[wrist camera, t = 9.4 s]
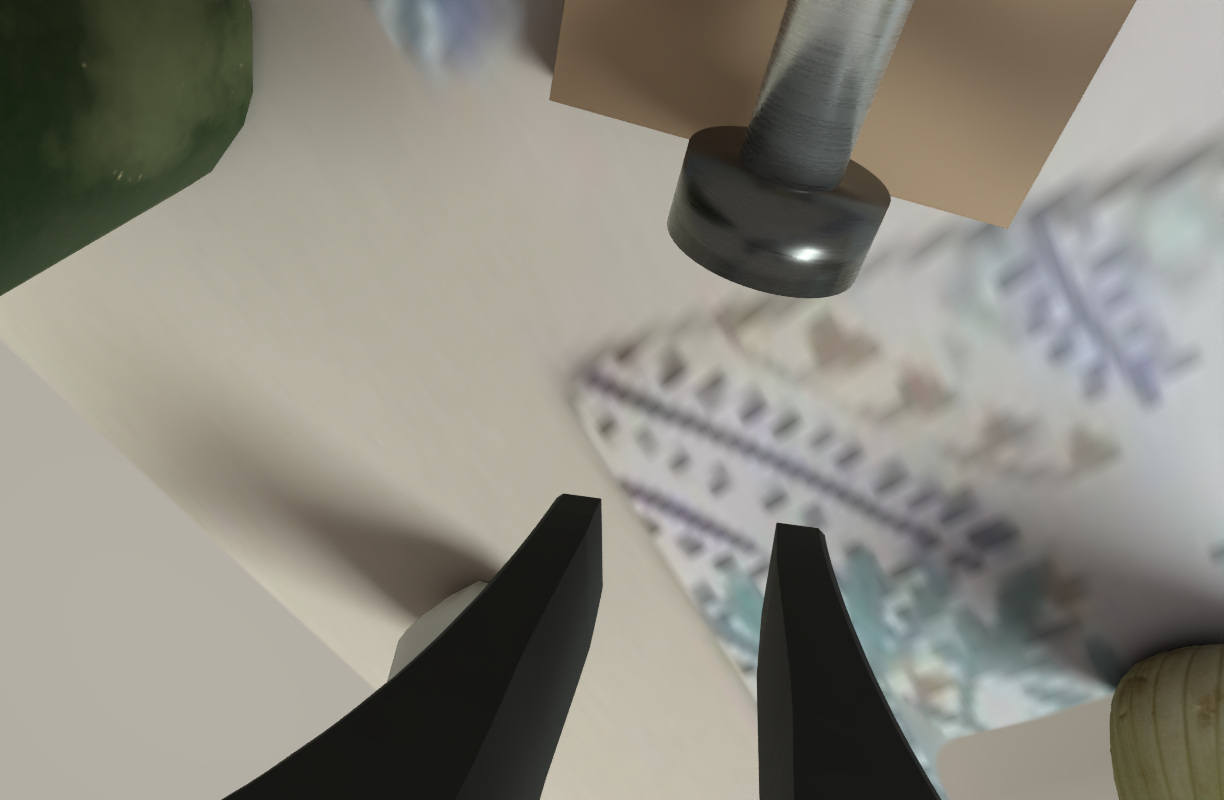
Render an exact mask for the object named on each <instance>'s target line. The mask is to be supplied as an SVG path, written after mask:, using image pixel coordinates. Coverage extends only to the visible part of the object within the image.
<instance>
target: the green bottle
mask: <svg viewBox="0 0 1224 800" xmlns="http://www.w3.org/2000/svg"><path fill="white" fill-rule="evenodd" d="M252 93H253V78H252V12H251V7H250V3H249V0H0V296H1V295H3V294H5V293H6V292H8V291H10V290H11V289H13V288H15V287H17V286H18V285H20V284H22V283H23V282H25V281H27V280H29V279H30V278H32V277H34V276H35V275H37V274H39V273H41V272H42V271H44V270H46V269H47V268H49V267H51V266H53V265H54V264H56V263H58V262H59V261H61V260H63V259H65V258H66V257H68V256H70V255H71V254H73V253H75V252H77V251H78V250H80V249H82V248H83V247H85V246H87V245H89V244H90V243H92V242H94V241H95V240H97V239H99V238H100V237H102V236H104V235H106V234H107V233H109V232H111V231H112V230H114V229H116V228H118V227H119V226H121V225H123V224H124V223H126V222H128V221H130V220H131V219H133V218H135V217H136V216H138V215H140V214H142V213H143V212H145V211H147V210H148V209H150V208H152V207H154V206H155V205H157V204H159V203H160V202H162V201H164V200H166V199H167V198H169V197H171V196H172V195H174V194H176V193H178V192H179V191H181V190H183V189H184V188H186V187H188V186H189V185H191V184H193V183H194V182H196V181H197V180H199V179H200V178H202V177H203V176H205V175H206V174H208V173H209V172H211V171H212V170H213V168H214V167H215V165H216V164H217V163H218V161H219V160H220V158H221V157H222V155H223V154H224V152H225V151H226V150H227V148H228V147H229V145H230V144H231V142H232V141H233V140H234V138H235V137H236V135H237V134H238V132H239V131H240V129H241V128H242V127H243V125H244V122H245V118H246V114H247V111H248V107H249V103H250V100H251V96H252Z"/></svg>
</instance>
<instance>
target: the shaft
mask: <svg viewBox="0 0 1224 800" xmlns="http://www.w3.org/2000/svg"><path fill="white" fill-rule="evenodd" d="M913 2H914V0H788V1H787V4H786V7H785V11H784V14H783V17H782V20H781V23H780V26H779V30H778V33H777V36H776V39H775V42H774V45H773V49H772V52H771V55H770V58H769V61H768V64H767V68H766V71H765V74H764V77H763V80H762V84H761V87H760V90H759V93H758V96H757V99H756V103H755V106H754V109H753V112H752V115H751V118H750V122H749V125H748V127H744V126H716V127H709V128H705V129H702V130H700V131H698V132H696V133H695V134H693V135H692V136H691V138H690V140H689V143H688V147H687V151H686V154H685V158H684V162H683V165H682V169H681V173H680V176H679V180H678V184H677V187H676V191H675V195H674V198H673V202H672V206H671V209H670V213H669V217H668V222H667V226H668V231H669V234H670V236H671V238H672V239H673V241H674V242H675V243H676V245H677V246H678V247H679V248H680V249H681V250H682V251H683V252H684V253H685V254H686V255H687V256H689V257H690V258H691V259H693V260H694V261H695V262H697V263H698V264H700V265H701V266H703V267H704V268H706V269H708V270H709V271H711V272H713V273H715V274H717V275H719V276H721V277H723V278H725V279H728V280H730V281H732V282H735V283H737V284H740V285H743V286H746V287H749V288H752V289H755V290H758V291H762V292H766V293H770V294H775V295H781V296H787V297H796V298H822V297H829V296H833V295H837V294H840V293H842V292H844V291H846V290H847V289H848V288H850V287H851V286H852V285H853V283H854V282H855V280H856V277H857V275H858V273H859V271H860V269H861V266H862V264H863V262H864V260H865V258H866V255H867V253H868V251H869V249H870V247H871V244H872V242H873V240H874V238H875V236H876V233H877V231H878V229H879V227H880V225H881V222H882V220H883V218H884V216H885V214H886V211H887V209H888V207H889V204H890V202H891V198H890V194H889V191H888V189H887V188H886V186H885V185H884V184H883V183H882V182H881V180H880V179H878V178H877V177H876V176H875V175H874V174H873V173H871V172H870V171H869V170H867V169H866V168H864V167H863V166H861V165H860V164H858V163H857V162H855V161H853V160H851V159H850V157H851V155H852V153H853V150H854V148H855V145H856V143H857V140H858V138H859V135H860V133H861V130H862V128H863V125H864V123H865V120H866V118H867V116H868V113H869V111H870V108H871V106H872V103H873V101H874V98H875V96H876V93H877V91H878V88H879V86H880V83H881V81H882V78H883V76H884V74H885V71H886V69H887V66H888V64H889V61H890V59H891V56H892V54H893V51H894V49H895V46H896V44H897V41H898V39H899V37H900V34H901V32H902V29H903V27H904V24H905V22H906V19H907V17H908V14H909V12H910V9H911V7H912V4H913Z"/></svg>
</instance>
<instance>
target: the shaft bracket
mask: <svg viewBox="0 0 1224 800" xmlns="http://www.w3.org/2000/svg"><path fill="white" fill-rule="evenodd" d="M787 1H788V0H565V3H564V9H563V16H562V22H561V28H560V35H559V41H558V48H557V54H556V60H555V67H554V73H553V80H552V86H551V92H550V99H549V100H551V101H555V102H558V103H562V104H565V105H569V106H572V107H576V108H579V109H583V110H587V111H590V112H594V113H597V114H601V115H604V116H608V117H612V118H615V119H619V120H622V121H626V122H629V123H633V124H636V125H640V126H644V127H647V128H651V129H654V130H658V131H661V132H665V133H668V134H672V135H676V136H679V137H683V138H686V139H690V138H691V136H692V135H693V134H695V133H696V132H698V131H700V130H702V129H705V128H709V127H716V126H744V127H748V125H749V122H750V118H751V115H752V112H753V109H754V106H755V103H756V99H757V96H758V93H759V90H760V87H761V84H762V80H763V77H764V74H765V71H766V68H767V64H768V61H769V58H770V55H771V52H772V49H773V45H774V42H775V39H776V36H777V33H778V30H779V26H780V23H781V20H782V17H783V14H784V11H785V7H786V4H787ZM1135 2H1136V0H914V2H913V4H912V7H911V9H910V12H909V14H908V17H907V19H906V22H905V24H904V27H903V29H902V32H901V34H900V37H899V39H898V41H897V44H896V46H895V49H894V51H893V54H892V56H891V59H890V61H889V64H888V66H887V69H886V71H885V74H884V76H883V78H882V81H881V83H880V86H879V88H878V91H877V93H876V96H875V98H874V101H873V103H872V106H871V108H870V111H869V113H868V116H867V118H866V120H865V123H864V125H863V128H862V130H861V133H860V135H859V138H858V140H857V143H856V145H855V148H854V150H853V153H852V155H851V157H850V159H851V160H853V161H855V162H857V163H858V164H860V165H861V166H863V167H864V168H866V169H867V170H869V171H870V172H871V173H873V174H874V175H875V176H876V177H877V178H878V179H880V180H881V182H882V183H883V184H884V185H885V186H886V188H887V189H888V191H889V194H890V196H893V197H896V198H900V199H903V200H907V201H910V202H914V203H918V204H921V205H925V206H928V207H932V208H935V209H939V210H943V211H946V212H950V213H953V214H957V215H960V216H964V217H967V218H971V219H975V220H978V221H982V222H985V223H989V224H992V225H996V226H999V227H1003V228H1007V229H1008V227H1009V226H1010V224H1011V222H1012V220H1013V219H1014V217H1015V215H1016V213H1017V211H1018V210H1019V208H1020V206H1021V204H1022V203H1023V201H1024V199H1025V197H1026V195H1027V194H1028V192H1029V190H1030V188H1031V187H1032V185H1033V183H1034V181H1035V179H1036V178H1037V176H1038V174H1039V172H1040V171H1041V169H1042V167H1043V165H1044V164H1045V162H1046V160H1047V158H1048V156H1049V155H1050V153H1051V151H1052V149H1053V148H1054V146H1055V144H1056V142H1057V140H1058V139H1059V137H1060V135H1061V133H1062V132H1063V130H1064V128H1065V126H1066V124H1067V123H1068V121H1069V119H1070V117H1071V116H1072V114H1073V112H1074V110H1075V109H1076V107H1077V105H1078V103H1079V101H1080V100H1081V98H1082V96H1083V94H1084V93H1085V91H1086V89H1087V87H1088V85H1089V84H1090V82H1091V80H1092V78H1093V77H1094V75H1095V73H1096V71H1097V69H1098V68H1099V66H1100V64H1101V62H1102V61H1103V59H1104V57H1105V55H1106V54H1107V52H1108V50H1109V48H1110V46H1111V45H1112V43H1113V41H1114V39H1115V38H1116V36H1117V34H1118V32H1119V30H1120V29H1121V27H1122V25H1123V23H1124V22H1125V20H1126V18H1127V16H1128V14H1129V13H1130V11H1131V9H1132V7H1133V6H1134V4H1135Z"/></svg>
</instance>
